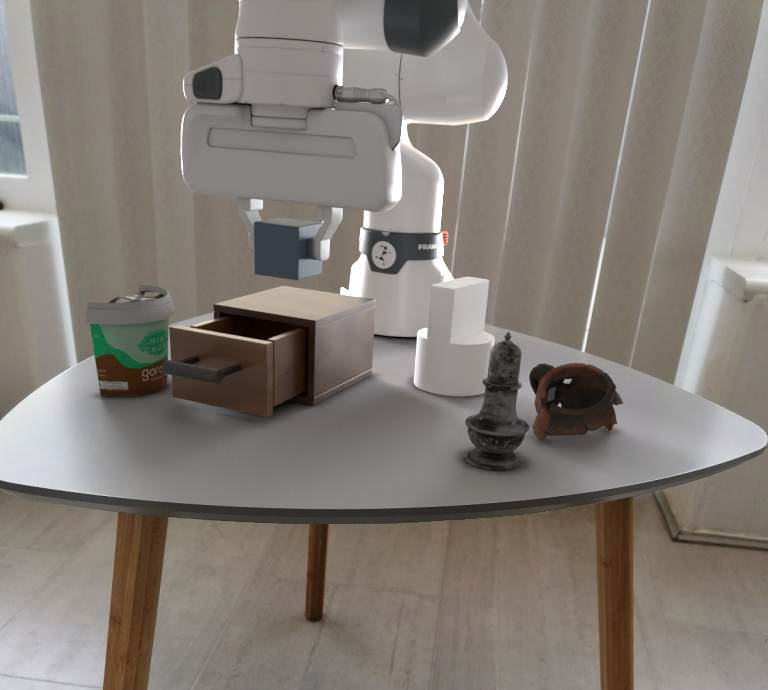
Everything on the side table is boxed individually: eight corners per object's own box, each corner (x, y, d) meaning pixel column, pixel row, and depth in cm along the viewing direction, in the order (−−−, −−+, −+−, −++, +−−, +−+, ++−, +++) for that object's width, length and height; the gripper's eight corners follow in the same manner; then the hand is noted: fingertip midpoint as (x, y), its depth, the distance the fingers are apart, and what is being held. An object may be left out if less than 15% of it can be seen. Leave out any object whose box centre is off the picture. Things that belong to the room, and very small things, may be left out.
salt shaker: (520, 450, 80) (537, 326, 75) (528, 474, 75) (546, 341, 70) (460, 446, 80) (472, 322, 75) (462, 469, 75) (476, 337, 70)
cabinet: (313, 405, 89) (315, 320, 86) (215, 385, 94) (213, 303, 90) (372, 374, 102) (375, 299, 98) (282, 358, 106) (283, 285, 102)
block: (280, 267, 78) (280, 217, 76) (322, 273, 77) (323, 222, 75) (254, 274, 75) (253, 221, 73) (298, 280, 73) (298, 227, 71)
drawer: (240, 431, 78) (238, 354, 75) (142, 409, 82) (137, 335, 79) (331, 385, 93) (333, 320, 90) (245, 368, 98) (244, 305, 94)
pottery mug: (639, 442, 86) (645, 385, 80) (570, 491, 84) (570, 437, 77) (559, 383, 93) (558, 326, 86) (493, 428, 91) (487, 373, 84)
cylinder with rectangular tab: (467, 401, 94) (478, 293, 89) (399, 385, 98) (406, 281, 93) (501, 384, 101) (514, 283, 96) (437, 370, 105) (445, 272, 100)
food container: (148, 406, 86) (141, 308, 82) (93, 399, 87) (84, 302, 83) (196, 375, 97) (192, 287, 93) (146, 369, 98) (141, 282, 94)
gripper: (419, 91, 68) (408, 264, 74) (210, 80, 75) (215, 239, 81) (388, 87, 63) (378, 274, 69) (166, 76, 70) (175, 246, 76)
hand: (288, 255), depth 75 cm, fingers closed on block, 4 cm apart
